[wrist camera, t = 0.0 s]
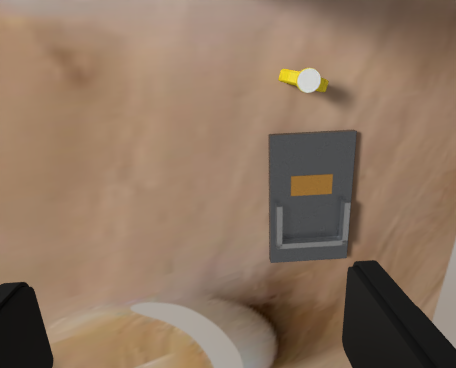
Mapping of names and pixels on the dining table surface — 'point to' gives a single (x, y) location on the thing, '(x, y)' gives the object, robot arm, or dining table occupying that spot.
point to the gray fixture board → (310, 194)
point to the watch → (304, 79)
